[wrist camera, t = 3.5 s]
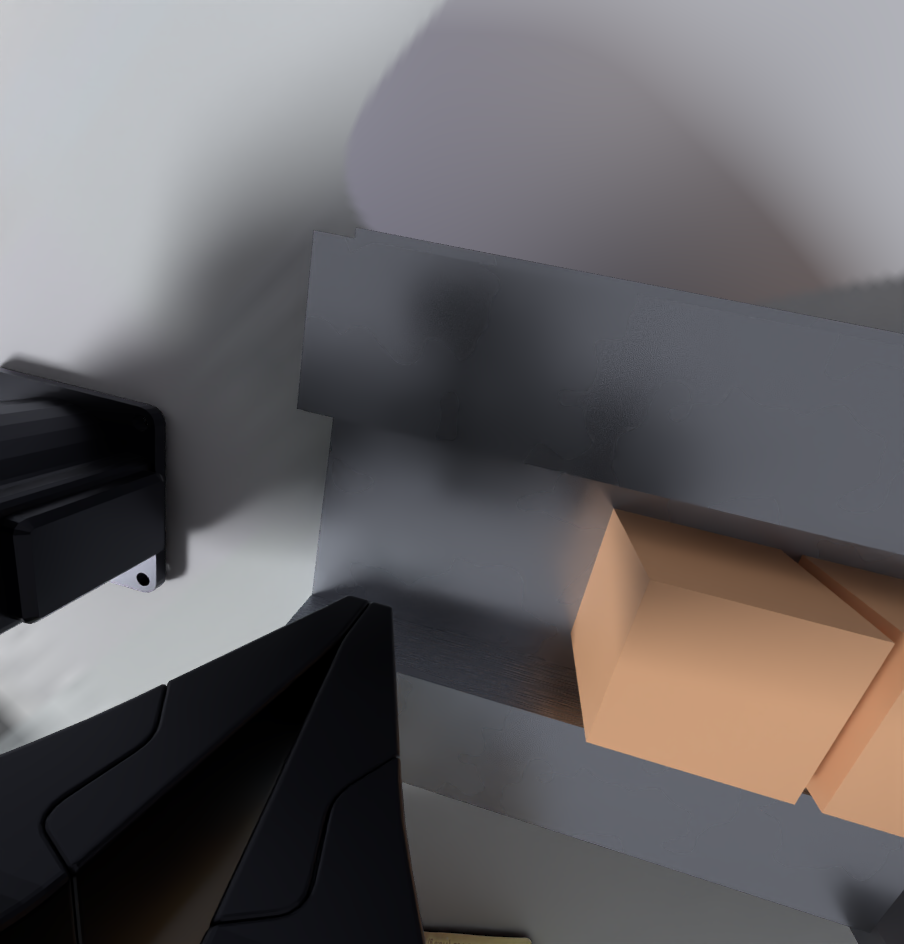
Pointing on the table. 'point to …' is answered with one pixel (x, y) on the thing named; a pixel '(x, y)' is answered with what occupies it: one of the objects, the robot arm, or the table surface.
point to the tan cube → (867, 711)
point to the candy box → (470, 939)
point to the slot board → (586, 522)
